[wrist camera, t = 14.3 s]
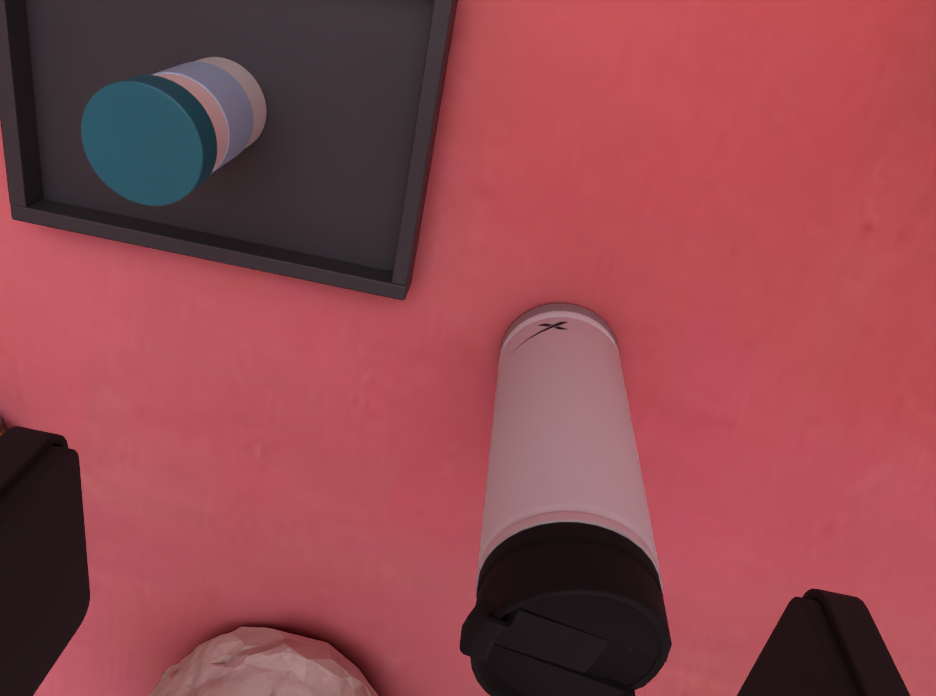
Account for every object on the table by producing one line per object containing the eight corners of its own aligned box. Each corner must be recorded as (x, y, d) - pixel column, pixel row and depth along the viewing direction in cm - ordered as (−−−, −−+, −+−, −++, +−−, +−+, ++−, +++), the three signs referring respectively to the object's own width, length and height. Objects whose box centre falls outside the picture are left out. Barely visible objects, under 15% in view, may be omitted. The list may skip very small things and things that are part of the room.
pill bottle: (172, 42, 34) (75, 68, 27) (274, 63, 34) (204, 95, 27) (173, 144, 36) (83, 193, 29) (268, 163, 36) (202, 217, 29)
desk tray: (5, -124, 32) (-29, -128, 30) (462, -26, 32) (457, -23, 30) (36, 206, 39) (11, 219, 37) (410, 284, 39) (404, 301, 37)
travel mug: (526, 278, 38) (513, 564, 21) (640, 331, 39) (721, 649, 21) (474, 373, 41) (425, 694, 24) (582, 420, 42) (611, 764, 24)
